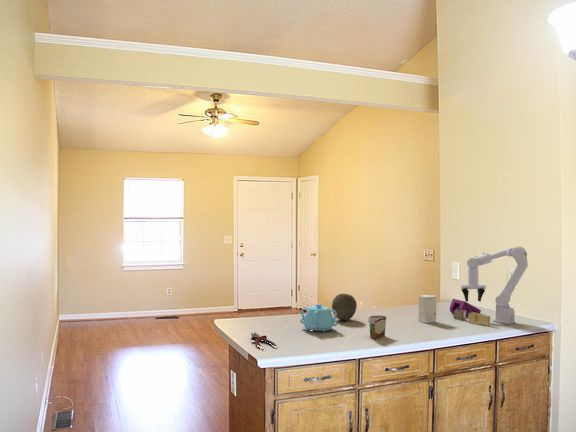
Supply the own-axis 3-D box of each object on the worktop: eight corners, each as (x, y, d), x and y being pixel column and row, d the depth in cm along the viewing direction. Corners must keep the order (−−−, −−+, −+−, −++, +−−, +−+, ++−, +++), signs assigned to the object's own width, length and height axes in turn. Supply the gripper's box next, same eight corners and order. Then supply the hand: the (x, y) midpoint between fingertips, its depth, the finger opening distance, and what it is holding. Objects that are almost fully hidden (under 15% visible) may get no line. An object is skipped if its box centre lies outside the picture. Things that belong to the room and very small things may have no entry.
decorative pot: (325, 325, 265) (325, 300, 265) (339, 331, 251) (339, 305, 250) (298, 327, 259) (298, 302, 259) (311, 334, 244) (311, 307, 244)
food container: (375, 333, 248) (375, 314, 248) (386, 335, 244) (386, 315, 244) (363, 338, 238) (363, 318, 238) (374, 340, 234) (374, 320, 234)
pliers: (278, 344, 220) (261, 329, 240) (260, 346, 217) (244, 331, 237) (278, 350, 220) (261, 335, 240) (260, 352, 217) (244, 337, 237)
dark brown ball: (357, 323, 270) (358, 296, 270) (332, 322, 270) (332, 296, 270) (355, 317, 284) (355, 292, 284) (330, 317, 284) (331, 291, 284)
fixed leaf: (466, 320, 278) (466, 310, 278) (464, 321, 277) (464, 310, 277) (456, 318, 284) (456, 308, 284) (453, 318, 283) (454, 308, 283)
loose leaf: (491, 324, 267) (491, 315, 267) (486, 326, 264) (486, 316, 264) (473, 321, 276) (473, 312, 276) (468, 322, 273) (468, 313, 273)
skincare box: (425, 323, 270) (425, 297, 270) (417, 321, 276) (418, 295, 276) (436, 322, 274) (437, 295, 274) (429, 319, 280) (429, 294, 279)
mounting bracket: (467, 321, 302) (448, 311, 295) (472, 309, 303) (452, 298, 296) (479, 325, 293) (459, 314, 286) (484, 312, 295) (464, 301, 288)
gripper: (482, 277, 289) (481, 299, 290) (458, 277, 289) (458, 300, 289) (487, 278, 282) (487, 302, 283) (463, 279, 282) (463, 302, 282)
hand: (473, 301), depth 285 cm, fingers open, 7 cm apart
